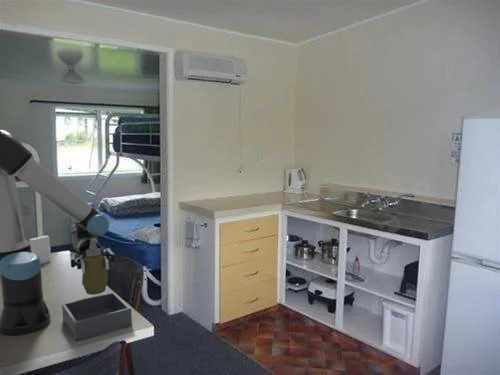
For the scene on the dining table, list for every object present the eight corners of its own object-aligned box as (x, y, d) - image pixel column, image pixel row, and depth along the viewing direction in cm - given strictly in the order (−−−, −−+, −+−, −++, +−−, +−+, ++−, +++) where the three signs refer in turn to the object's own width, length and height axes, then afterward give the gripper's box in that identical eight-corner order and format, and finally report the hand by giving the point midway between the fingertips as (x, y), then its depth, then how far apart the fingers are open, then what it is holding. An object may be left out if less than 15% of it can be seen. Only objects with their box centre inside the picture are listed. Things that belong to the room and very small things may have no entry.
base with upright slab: (44, 257, 214) (42, 234, 212) (54, 259, 209) (53, 236, 208) (27, 262, 206) (25, 238, 205) (38, 264, 202) (36, 240, 200)
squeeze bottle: (82, 289, 139) (78, 237, 137) (107, 285, 143) (104, 234, 140) (83, 298, 132) (79, 243, 130) (110, 293, 135) (106, 240, 133)
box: (131, 325, 137) (131, 308, 136) (75, 341, 126) (74, 322, 126) (114, 307, 151) (113, 292, 150) (63, 320, 141) (61, 304, 140)
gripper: (117, 255, 157) (127, 273, 136) (61, 263, 148) (63, 283, 128) (116, 236, 156) (126, 251, 135) (59, 242, 147) (61, 260, 127)
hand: (95, 267), depth 132 cm, fingers closed on squeeze bottle, 6 cm apart
